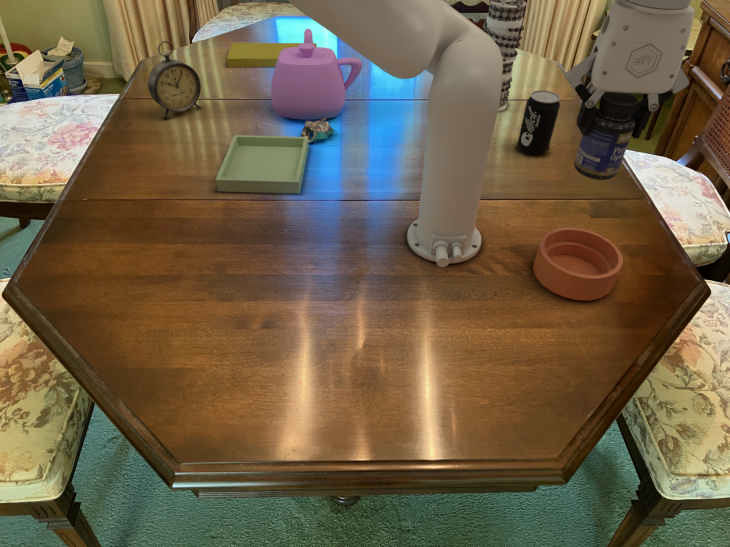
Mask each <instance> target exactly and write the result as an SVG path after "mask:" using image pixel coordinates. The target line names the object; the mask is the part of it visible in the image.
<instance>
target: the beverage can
mask: <svg viewBox="0 0 730 547" xmlns="http://www.w3.org/2000/svg"><path fill="white" fill-rule="evenodd" d="M560 99H561V97H560V95H558V93H556V92H554V91H551V90H545V89H544V90H543V89H539V90H534V91H532V92H531V93H530V96H529V97H528V99H527V100H526V104H525V108H524V113H523V118H522V122H521V126H520V130H519V135H518V139H517V147H518V149H519V150H520V152H522V153H524V154H526V155H530V156H541V155H543V154H545V153H546V152H548V151H549V148H550V144H551V142H552V137H553V134H554V130H555V127H556V123H557V119H558V115H559V111H560V109H561V108H560V107H561V102H560Z"/></svg>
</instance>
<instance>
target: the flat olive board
mask: <svg viewBox="0 0 730 547" xmlns="http://www.w3.org/2000/svg"><path fill="white" fill-rule="evenodd" d="M302 43H303V42H232V43H231V46H230V49H229V51H228V53H227V57H226V64H227V68H241V67H243V68H253V67H254V68H257V67H258V68H275V66H276V63H277V60H278V57H279V54H280V52H281V51H282V50H283V49H285V48H290V47H298V45H299V44H302ZM313 44H314V45H315V47H318V46H317V42H313Z"/></svg>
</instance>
